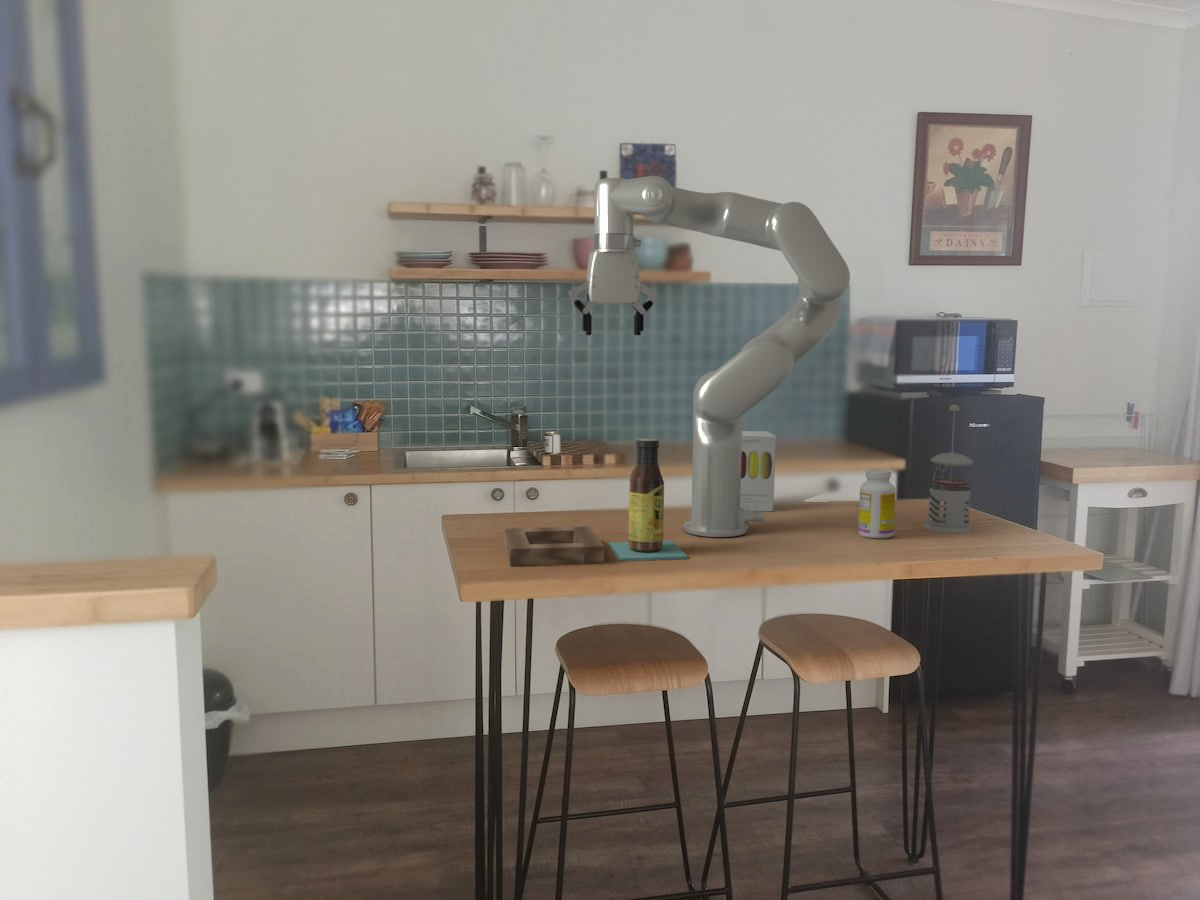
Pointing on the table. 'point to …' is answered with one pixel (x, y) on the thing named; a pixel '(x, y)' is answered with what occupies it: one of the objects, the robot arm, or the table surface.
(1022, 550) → the table surface
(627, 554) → the teal mat
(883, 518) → the supplement bottle
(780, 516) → the table surface
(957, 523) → the french press
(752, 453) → the supplement box
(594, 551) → the pocket block
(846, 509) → the table surface
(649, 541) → the sauce bottle
